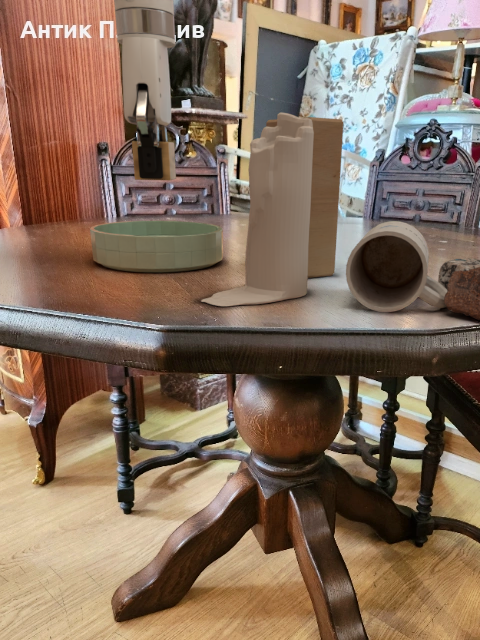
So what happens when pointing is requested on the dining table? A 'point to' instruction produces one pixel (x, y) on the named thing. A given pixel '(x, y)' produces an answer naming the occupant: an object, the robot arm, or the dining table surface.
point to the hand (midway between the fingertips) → (155, 176)
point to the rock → (456, 268)
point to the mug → (392, 269)
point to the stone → (464, 293)
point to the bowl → (157, 245)
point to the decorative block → (323, 194)
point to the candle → (277, 215)
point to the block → (167, 161)
